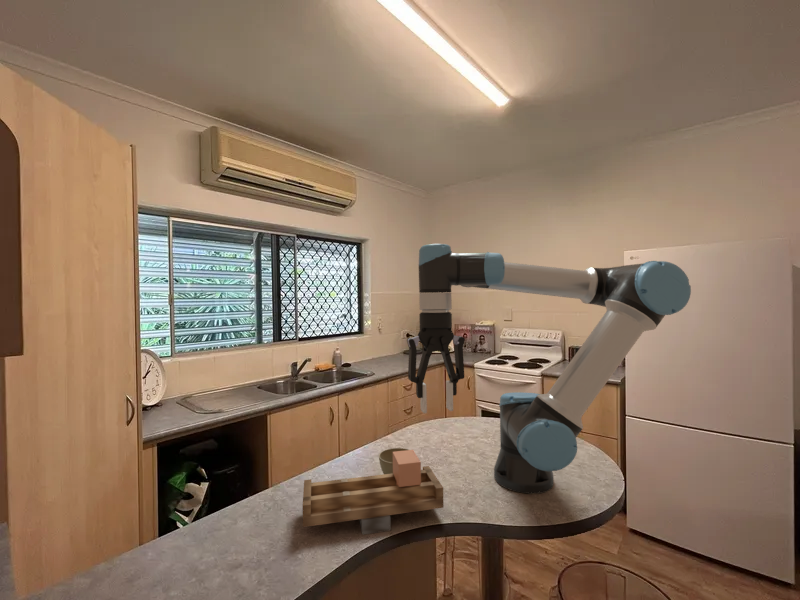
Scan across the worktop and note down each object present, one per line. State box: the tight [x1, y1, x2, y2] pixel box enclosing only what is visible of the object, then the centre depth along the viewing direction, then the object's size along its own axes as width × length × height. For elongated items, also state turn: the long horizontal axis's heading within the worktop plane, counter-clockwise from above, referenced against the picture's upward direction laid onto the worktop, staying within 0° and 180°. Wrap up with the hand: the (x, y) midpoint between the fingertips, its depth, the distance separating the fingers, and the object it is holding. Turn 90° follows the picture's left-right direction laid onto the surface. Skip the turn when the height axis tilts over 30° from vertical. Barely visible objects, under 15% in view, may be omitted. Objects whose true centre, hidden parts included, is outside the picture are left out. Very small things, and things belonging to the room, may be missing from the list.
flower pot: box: [378, 447, 410, 475], centre depth 102 cm, size 10×10×7 cm
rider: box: [393, 449, 422, 487], centre depth 87 cm, size 5×7×7 cm
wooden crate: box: [302, 465, 444, 535], centre depth 86 cm, size 30×12×8 cm, turn 102°
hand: (436, 410), depth 89 cm, fingers open, 6 cm apart
